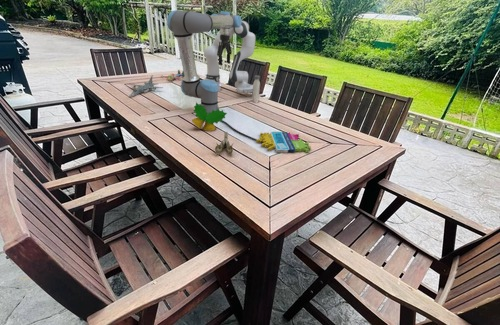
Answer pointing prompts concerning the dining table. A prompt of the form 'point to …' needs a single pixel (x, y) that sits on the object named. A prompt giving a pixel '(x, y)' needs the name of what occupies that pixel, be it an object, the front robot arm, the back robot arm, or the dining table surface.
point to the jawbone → (224, 145)
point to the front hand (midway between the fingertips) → (224, 63)
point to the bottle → (256, 91)
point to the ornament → (207, 117)
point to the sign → (283, 142)
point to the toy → (174, 76)
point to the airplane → (143, 87)
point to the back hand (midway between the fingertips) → (252, 92)
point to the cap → (257, 77)
